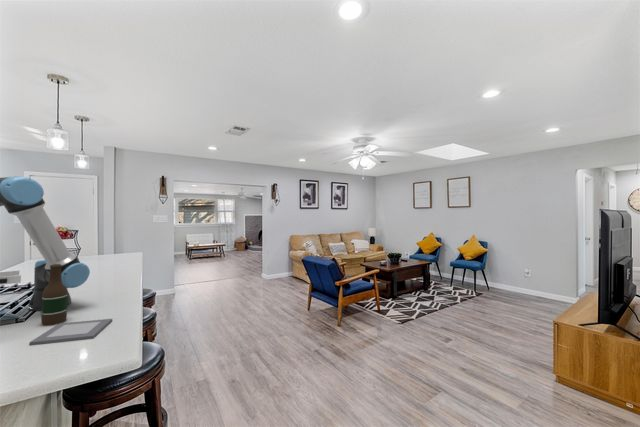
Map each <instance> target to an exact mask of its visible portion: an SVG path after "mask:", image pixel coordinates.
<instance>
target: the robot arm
mask: <svg viewBox="0 0 640 427" xmlns="http://www.w3.org/2000/svg"><path fill="white" fill-rule="evenodd" d="M44 191H45V190H44V188H43V186H42V185H41V184H40V183H39V182H38V180H37V181H36V180H35V179H33V178H31V177H28V176H16V175H15V176H8V177H7V176H6V177H0V207H3V206H4V209H6V211H7V213H8V214H10V215H13V216H16V217H17V219H18V220H19V222H20V224H21V226H22V227H23V228H24V230H25V231H26V233H27V234H28V236H29V237H30V239H31V241H32V242H33V243H34V245H35V248H36V249H37V251H39V253H40V254H41V256H42V257H43V259H42V260H37V261H35V262H34V263H35V264H34V277H33V278H34V279H33V280H34V282H33V286H34V287H33V294H32V295H31V298H30V300H29V302H28V304H27V305H28V306H29V307H31V308H33V309H30V308H28V306H27V308H28V309H27V310H28V311H32V312H33V311H35V312H37V311H39V312H40V311H42V293H43V291H44V289H45V288H46V287H47V285H48V283H49V278H50V269H51V268H50V265H54V264H61V265H62V267H61V279H62V284H63V285H64V286H65V287H66V289H67V306H69V305H70V304H71V303H72V297H71V294H70V292H69V289H74V288H77V287H80V286H82V285H83V284H85V283H86V281H87V280H88V279H89V277H90V268H89V265H86V264H85V263H83V262H81V261H80V259H79V258H78V256H77V254H74V253H70V251H69V250H68V247H67V246H66V244H65V242H64V241H63V239H62V238H61V236H60V234H59V232H58V231H57V229H56V227H55V226H54V224H53V223H52V221H51V219H50V217H49V216H48V214H47V212H46V210H45V209H44V206H45V205H46V201H45V200H44V195H45V192H44ZM21 280H22V275H21V274H20V270H9V271H0V286H1V285H9V284H10V285H12V284H20V283H21V282H22V281H21Z"/></svg>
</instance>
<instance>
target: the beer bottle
mask: <svg viewBox="0 0 640 427" xmlns="http://www.w3.org/2000/svg"><path fill="white" fill-rule="evenodd" d="M61 267H62V265H61V264H54V265H50V268H51V269H50V278H49V283H48V285H47V287H46V288H45V289H44V291H43V293H42V310H40V311H41V312H40V313H41V317H40V318H41V320H40V322H41V323H40V324H41V325H42V326H46V327H49V326H56V325H58V324H59V323H65V322H66V321H67V317H68V315H67V314H68V305H67V289H68V288H67V289H66V287H65V286H64V285H63V284H62V279H61Z"/></svg>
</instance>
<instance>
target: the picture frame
mask: <svg viewBox="0 0 640 427" xmlns="http://www.w3.org/2000/svg"><path fill="white" fill-rule="evenodd" d="M112 322H113V318H104V319H94V320H82V321H81V320H80V321H71V322H62V323H59V324H56V325H53V327H51V328H50V329H48V330H47V331H44V333H42V334H41V335H39V336H37V337H36V338H34V339H32V340H31V341H29V344H28V346H36V345H45V344H54V343H55V344H56V343H63V342H72V341H74V342H75V341H83V340H92V339H93V340H94V339H95V337H97V336H98V335H99V334H100V333H101V332H102V331H104V329H105V328H107V326H108V325H110V324H111V323H112Z"/></svg>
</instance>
